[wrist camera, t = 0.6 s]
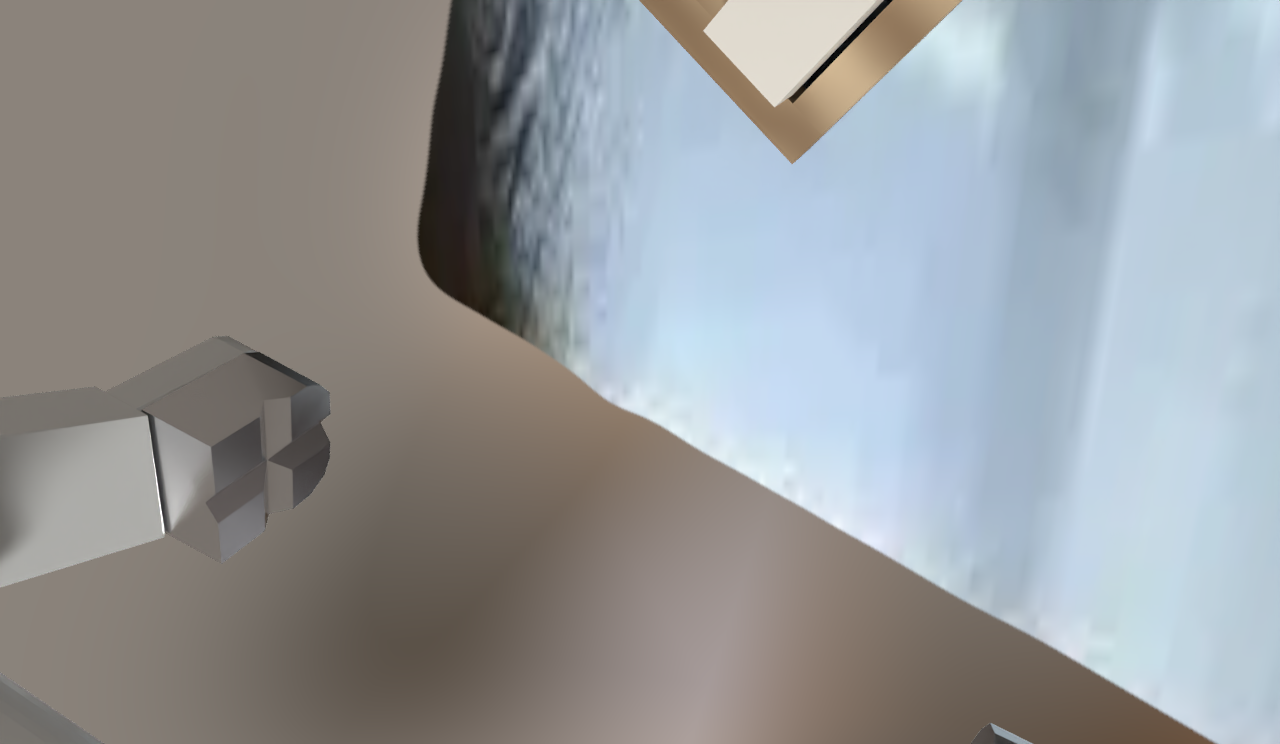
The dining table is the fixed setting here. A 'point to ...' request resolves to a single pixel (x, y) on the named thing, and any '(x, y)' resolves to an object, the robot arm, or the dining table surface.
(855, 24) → the ivory key
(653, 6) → the key console
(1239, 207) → the dining table surface
